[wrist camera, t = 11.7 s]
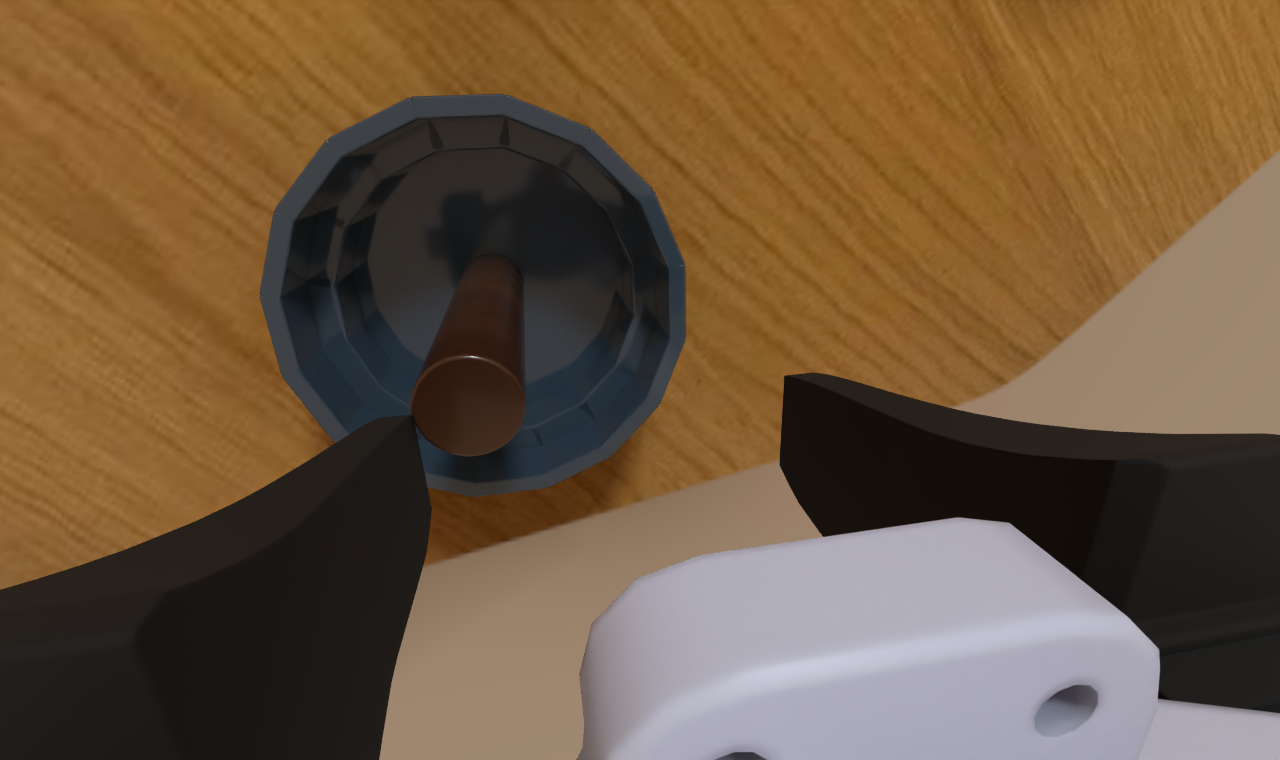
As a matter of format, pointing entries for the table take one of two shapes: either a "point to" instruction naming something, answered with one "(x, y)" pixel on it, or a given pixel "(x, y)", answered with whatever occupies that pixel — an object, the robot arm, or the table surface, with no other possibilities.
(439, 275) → the mixing bowl
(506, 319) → the stirring stick
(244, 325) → the table surface
